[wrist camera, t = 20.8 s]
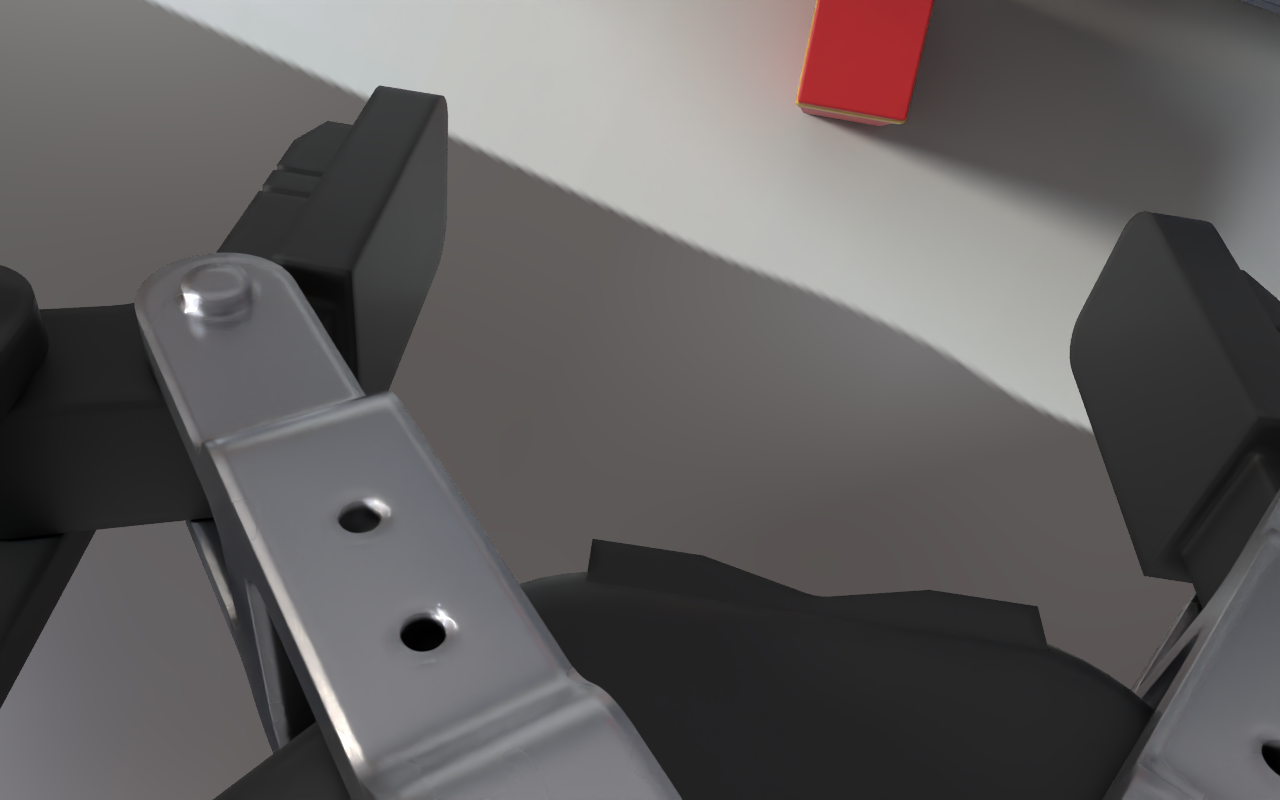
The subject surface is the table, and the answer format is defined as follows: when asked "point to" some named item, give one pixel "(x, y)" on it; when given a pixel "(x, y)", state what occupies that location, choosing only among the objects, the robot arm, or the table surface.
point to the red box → (863, 59)
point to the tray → (1266, 4)
